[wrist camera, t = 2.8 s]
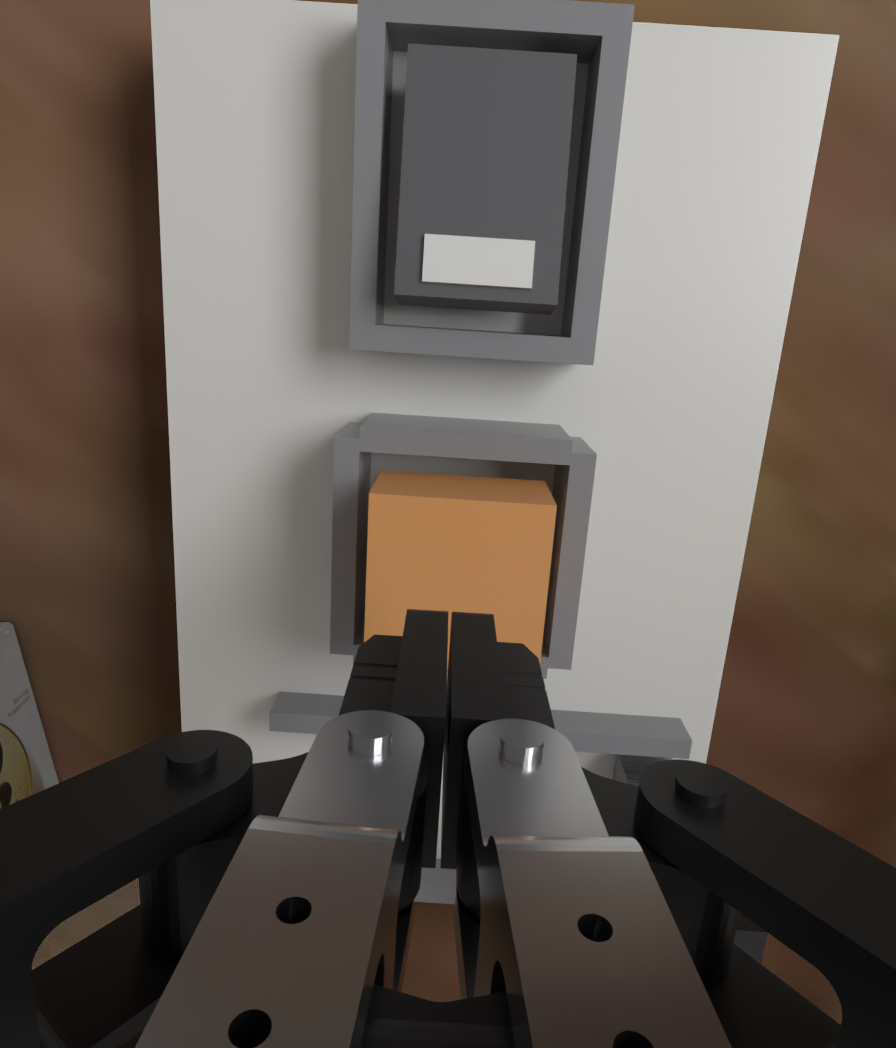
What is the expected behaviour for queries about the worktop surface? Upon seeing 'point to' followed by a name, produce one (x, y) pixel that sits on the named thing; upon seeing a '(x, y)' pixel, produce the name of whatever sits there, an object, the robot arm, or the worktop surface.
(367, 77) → the control panel
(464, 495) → the push button
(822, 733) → the worktop surface
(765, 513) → the worktop surface
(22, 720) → the coffee box
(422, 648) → the robot arm
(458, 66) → the rocker switch
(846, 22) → the worktop surface
